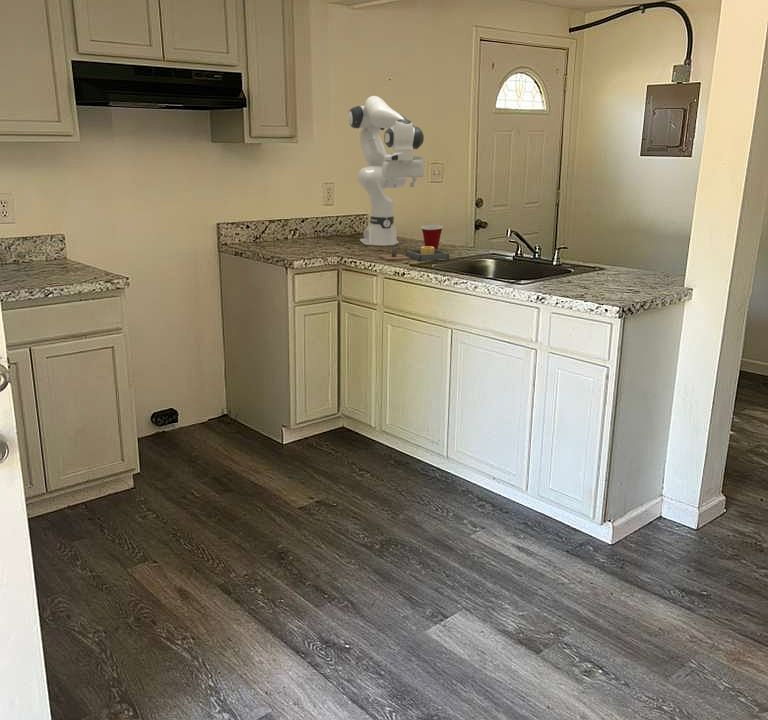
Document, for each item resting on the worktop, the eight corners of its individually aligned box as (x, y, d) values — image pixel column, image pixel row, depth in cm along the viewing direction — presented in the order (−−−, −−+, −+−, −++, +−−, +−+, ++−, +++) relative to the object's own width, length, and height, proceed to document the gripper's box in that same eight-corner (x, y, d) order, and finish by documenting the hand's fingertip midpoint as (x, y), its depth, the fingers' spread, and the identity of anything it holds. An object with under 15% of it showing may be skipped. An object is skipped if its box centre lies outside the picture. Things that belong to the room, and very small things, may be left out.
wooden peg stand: (378, 257, 352) (378, 243, 350) (399, 256, 357) (400, 242, 355) (388, 261, 343) (388, 247, 341) (410, 259, 347) (410, 246, 345)
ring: (418, 256, 353) (418, 246, 352) (430, 255, 356) (430, 245, 354) (424, 258, 348) (424, 248, 347) (436, 257, 350) (436, 247, 349)
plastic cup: (415, 250, 374) (416, 225, 371) (432, 248, 380) (433, 224, 377) (429, 253, 366) (430, 228, 362) (446, 251, 372) (447, 226, 369)
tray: (405, 256, 356) (405, 250, 355) (433, 254, 361) (434, 248, 360) (419, 261, 343) (420, 255, 342) (448, 259, 348) (449, 253, 348)
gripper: (420, 156, 356) (419, 186, 360) (380, 156, 348) (380, 187, 352) (426, 156, 351) (425, 187, 355) (386, 156, 343) (385, 188, 347)
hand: (402, 187), depth 353 cm, fingers open, 8 cm apart
